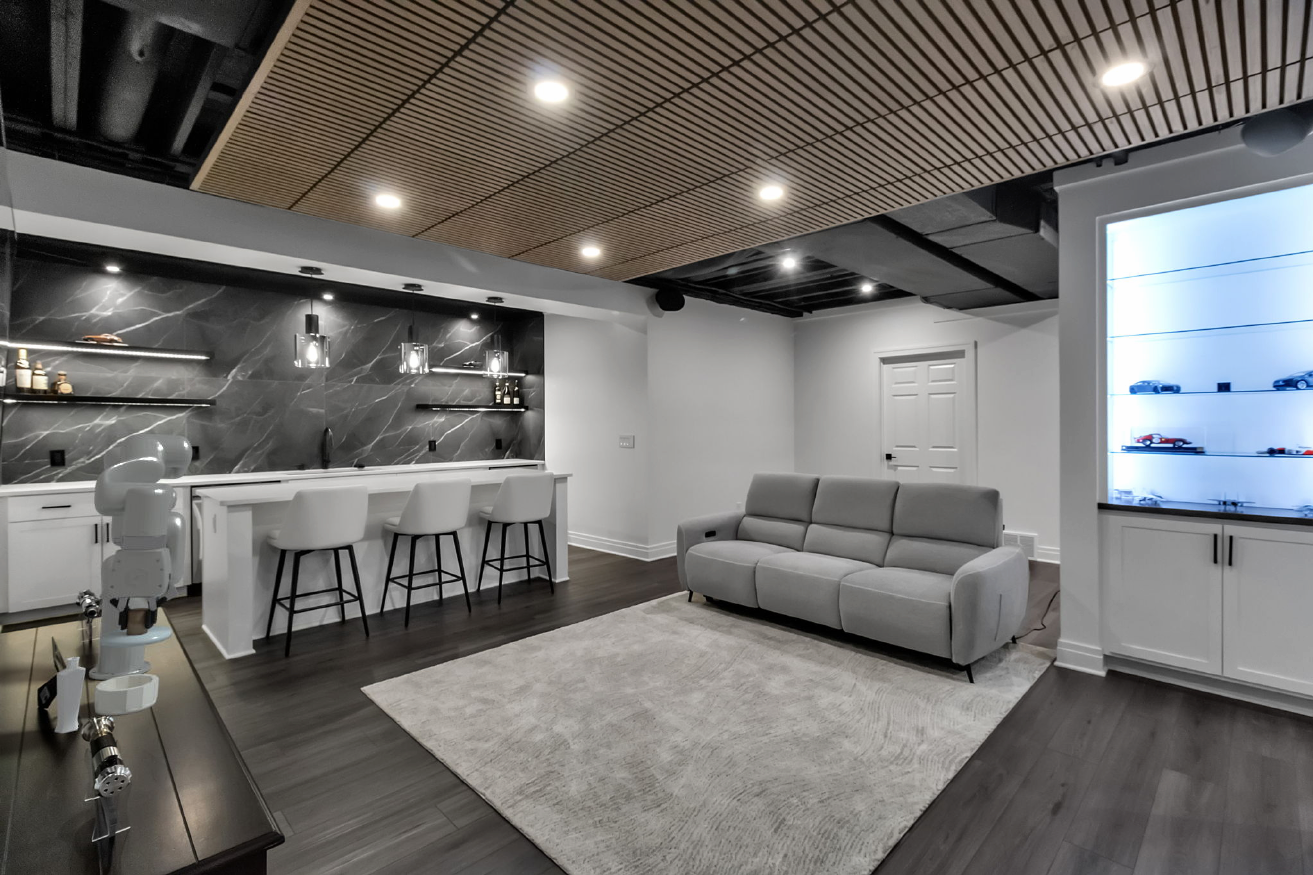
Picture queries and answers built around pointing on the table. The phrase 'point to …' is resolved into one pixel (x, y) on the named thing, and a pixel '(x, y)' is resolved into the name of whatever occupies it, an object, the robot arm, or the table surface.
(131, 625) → the lid
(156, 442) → the robot arm
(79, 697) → the perfume bottle
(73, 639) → the table surface
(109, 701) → the bowl
